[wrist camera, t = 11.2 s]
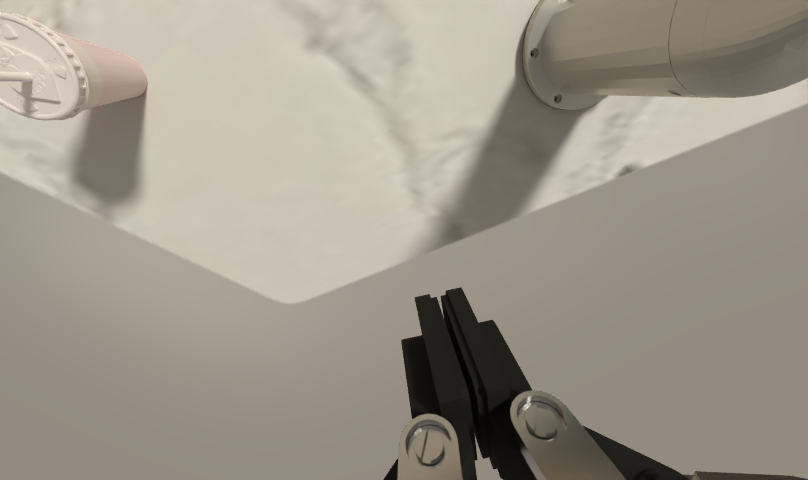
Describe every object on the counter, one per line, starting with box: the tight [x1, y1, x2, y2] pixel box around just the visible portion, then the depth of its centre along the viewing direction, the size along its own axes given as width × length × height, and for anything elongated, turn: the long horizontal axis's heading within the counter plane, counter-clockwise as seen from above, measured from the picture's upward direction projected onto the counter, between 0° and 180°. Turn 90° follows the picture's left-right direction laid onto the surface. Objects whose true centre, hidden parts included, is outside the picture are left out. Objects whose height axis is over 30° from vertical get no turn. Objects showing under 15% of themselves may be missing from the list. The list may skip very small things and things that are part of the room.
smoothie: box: [0, 12, 147, 120], centre depth 22 cm, size 6×6×14 cm
